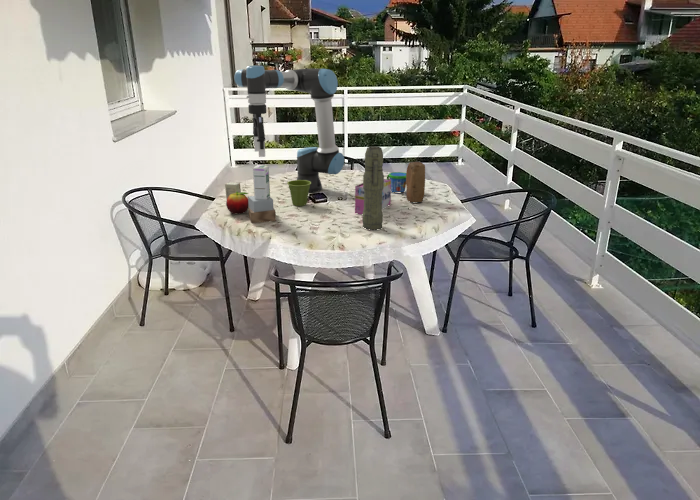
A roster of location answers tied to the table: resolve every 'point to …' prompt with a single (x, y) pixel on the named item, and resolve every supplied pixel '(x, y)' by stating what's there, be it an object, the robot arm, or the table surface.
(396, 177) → the snack cup
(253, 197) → the top block
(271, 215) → the base block
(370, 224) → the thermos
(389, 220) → the table surface
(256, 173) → the syrup box
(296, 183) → the plant pot
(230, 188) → the skincare box
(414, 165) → the block
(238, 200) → the fruit
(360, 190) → the gum box
